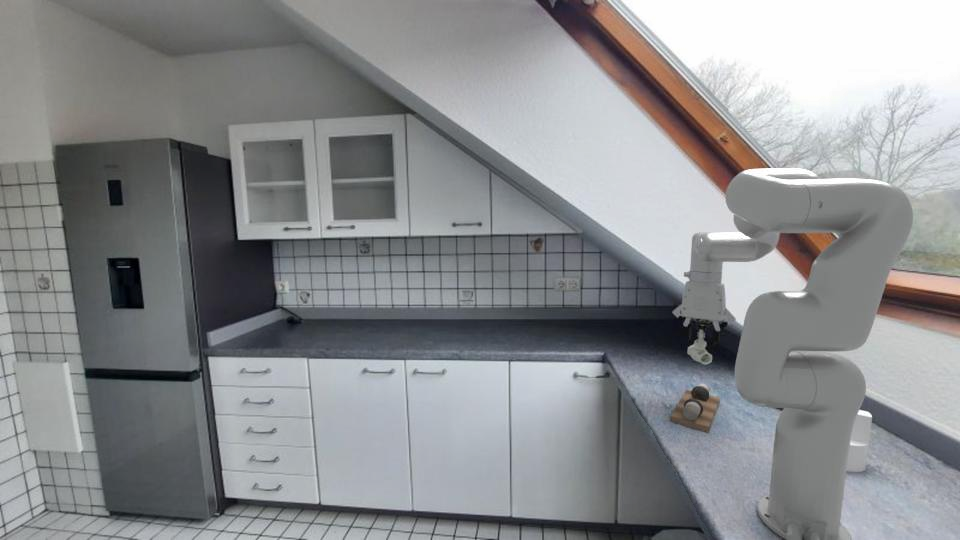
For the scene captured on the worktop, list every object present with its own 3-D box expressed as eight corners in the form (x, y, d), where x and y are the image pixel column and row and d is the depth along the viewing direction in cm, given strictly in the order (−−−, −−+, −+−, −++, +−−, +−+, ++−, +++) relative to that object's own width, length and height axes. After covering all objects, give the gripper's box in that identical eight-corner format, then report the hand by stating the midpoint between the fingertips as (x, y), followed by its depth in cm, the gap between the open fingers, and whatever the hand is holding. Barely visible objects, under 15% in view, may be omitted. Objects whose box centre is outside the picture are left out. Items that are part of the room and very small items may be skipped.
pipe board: (708, 432, 96) (710, 411, 96) (670, 421, 102) (671, 401, 101) (719, 402, 113) (721, 384, 112) (686, 394, 118) (687, 377, 118)
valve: (704, 357, 109) (707, 317, 107) (717, 366, 102) (721, 323, 101) (681, 357, 109) (684, 316, 108) (692, 365, 103) (696, 322, 101)
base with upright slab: (814, 462, 84) (820, 412, 83) (808, 443, 92) (812, 396, 90) (871, 477, 79) (878, 423, 78) (859, 455, 87) (865, 406, 85)
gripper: (667, 276, 105) (664, 339, 107) (742, 282, 94) (736, 351, 97) (673, 273, 111) (670, 333, 113) (744, 278, 100) (739, 344, 102)
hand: (701, 341), depth 105 cm, fingers closed on valve, 5 cm apart
